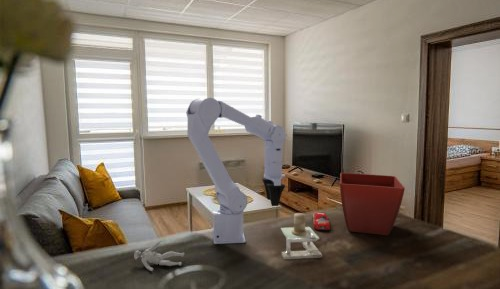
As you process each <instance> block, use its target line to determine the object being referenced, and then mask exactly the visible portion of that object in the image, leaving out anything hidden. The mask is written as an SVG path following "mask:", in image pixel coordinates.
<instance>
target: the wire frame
mask: <svg viewBox="0 0 500 289" xmlns="http://www.w3.org/2000/svg"><path fill="white" fill-rule="evenodd" d="M317 241H318V240H317V238H316V237H315V236H314V234H313V233H312V232H311V231H310V230H307V233H306V238H294V239H286V240H285V243H286V244H285V246H286V248H285V250H284V251H281V256H282V258H283V260H295V259H296V260H297V259H299V260H302V259H318V258H320V259H321V258H323V254H322V252H321V251H320V250H319V248H317V246H316V245H315V243H314V242H317ZM292 243H301V245H302V247H303V248H304V250H291V246H292Z"/></svg>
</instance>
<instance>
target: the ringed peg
mask: <svg viewBox="0 0 500 289" xmlns="http://www.w3.org/2000/svg"><path fill="white" fill-rule="evenodd" d="M293 227H294V228H293V229H292V234H294V235H297V236H304V235H306V233H307V230H306V229H305V227H306V214H305V213H302V212H296V213H294V214H293Z"/></svg>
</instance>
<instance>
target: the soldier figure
mask: <svg viewBox="0 0 500 289" xmlns="http://www.w3.org/2000/svg"><path fill="white" fill-rule="evenodd" d="M162 242H163V240H158V241H157V242H156V243H155V244H154V245H152V246H151V247H149V248H146V249H144V251H143V252H142V251H139V250H135V251H134V253H133V254H134V255H133V258H134V259H135V260H137V259H138V258H141V259H140V260H141V263H142V265H144V267H145V269H147V270H148V271H150V272H153V270H155V269H154V268H153V267H151V266H150V264H155V265H157V266H158V264H159V266H169V267H171V266H177V265H178V266H179V267H181V266H182V264H183V263H182V261H179V262H177V261H176V262H175V261H172V260H169V259H168V258H170V257H181V258H182V257H183V258H184V256H185V252H181V253H180V252H176V251H173V250H170V251H167V252H165V253H163V254H162V253H157V252H158V251H156V248H158V247H159V245H161V243H162ZM154 250H155V251H154ZM166 259H167V260H166ZM149 263H150V264H149Z"/></svg>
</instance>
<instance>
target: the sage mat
mask: <svg viewBox="0 0 500 289" xmlns="http://www.w3.org/2000/svg"><path fill="white" fill-rule="evenodd" d="M293 228H294V226H293V227H292V226H291V227H290V226H289V227H280V231H281V232H282V234H283V236H284V237H285V239H286V240H287V239H294V238H306V235H304V236H297V235H294V234H292V229H293ZM305 229H306V230H310V231H311V232H312V233H313V234H314V236H315V237H316V238H317V241H318V240H320V237H319V236H318V234H317V233H315V231H314V230H313V229H312V228H311V227H310V226H305Z"/></svg>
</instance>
